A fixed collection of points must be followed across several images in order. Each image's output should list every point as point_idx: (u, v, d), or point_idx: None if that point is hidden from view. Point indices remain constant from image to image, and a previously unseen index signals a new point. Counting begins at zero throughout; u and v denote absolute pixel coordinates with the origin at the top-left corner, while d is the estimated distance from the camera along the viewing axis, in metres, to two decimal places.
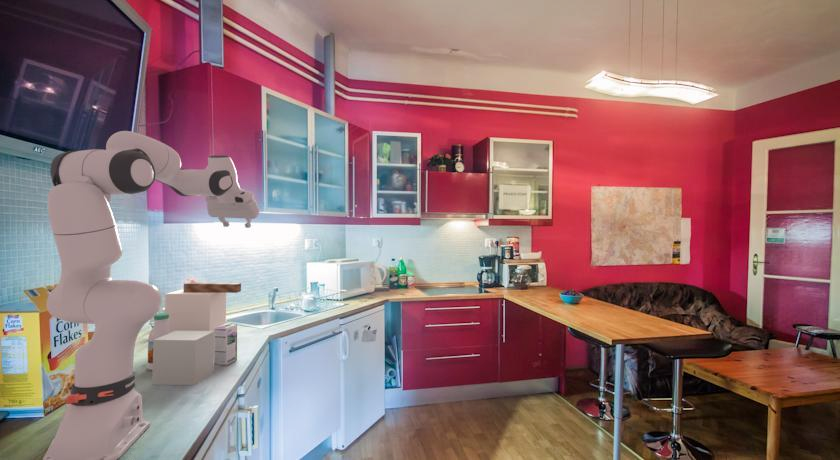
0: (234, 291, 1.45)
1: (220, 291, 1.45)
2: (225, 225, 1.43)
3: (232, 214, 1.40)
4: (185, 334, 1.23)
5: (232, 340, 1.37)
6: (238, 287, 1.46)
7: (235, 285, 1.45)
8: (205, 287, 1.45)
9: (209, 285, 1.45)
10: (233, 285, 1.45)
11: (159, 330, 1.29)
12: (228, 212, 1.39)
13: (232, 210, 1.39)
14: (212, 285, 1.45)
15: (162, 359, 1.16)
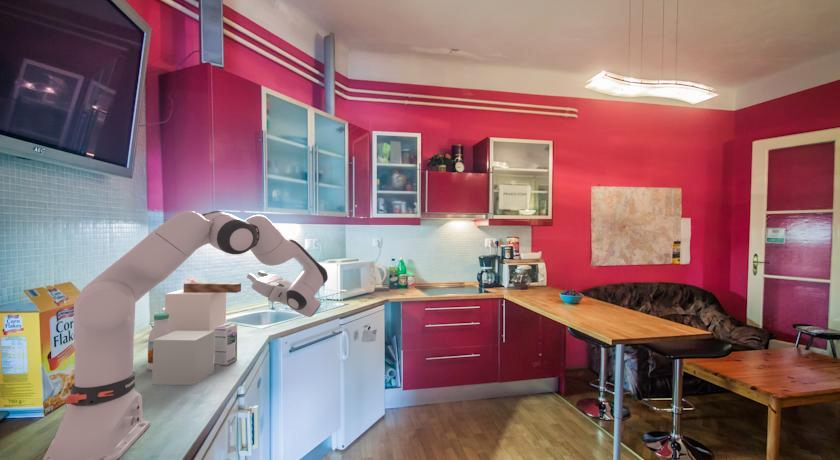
0: (234, 291, 1.45)
1: (220, 291, 1.45)
2: (261, 271, 1.47)
3: (268, 277, 1.42)
4: (185, 334, 1.23)
5: (232, 340, 1.37)
6: (238, 287, 1.46)
7: (235, 285, 1.45)
8: (205, 287, 1.45)
9: (209, 285, 1.45)
10: (233, 285, 1.45)
11: (159, 330, 1.29)
12: (271, 278, 1.43)
13: (271, 280, 1.41)
14: (212, 285, 1.45)
15: (162, 359, 1.16)
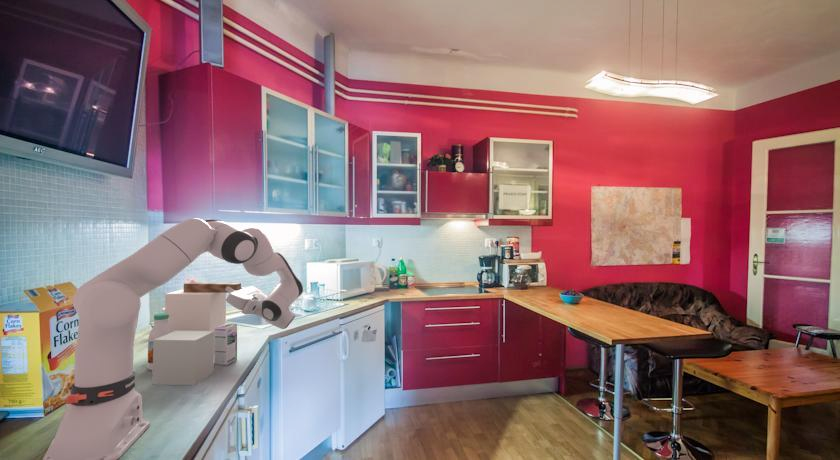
0: None
1: (220, 291, 1.45)
2: None
3: (244, 290, 1.46)
4: (185, 334, 1.23)
5: (232, 340, 1.37)
6: (238, 287, 1.46)
7: (235, 285, 1.45)
8: (205, 287, 1.45)
9: (209, 285, 1.45)
10: (233, 285, 1.45)
11: (159, 330, 1.29)
12: (247, 291, 1.48)
13: (247, 293, 1.46)
14: (212, 285, 1.45)
15: (162, 359, 1.16)
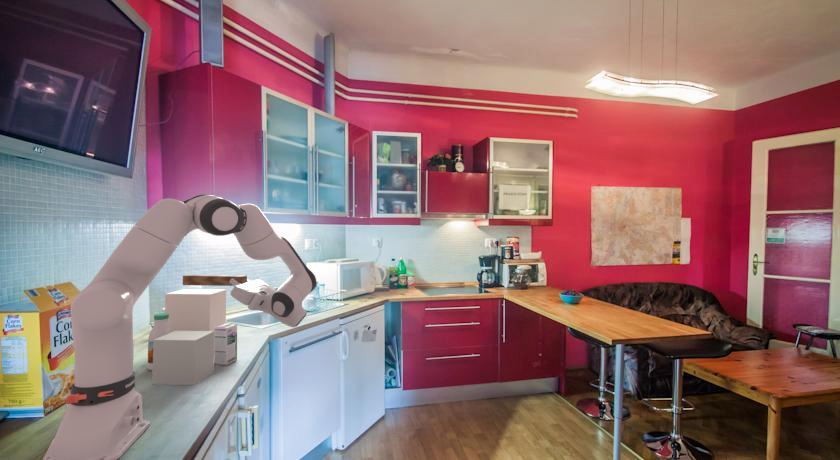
0: None
1: (223, 285, 1.30)
2: None
3: (250, 284, 1.31)
4: (185, 334, 1.23)
5: (232, 340, 1.37)
6: (243, 280, 1.31)
7: (240, 277, 1.30)
8: (207, 280, 1.29)
9: (211, 277, 1.30)
10: (238, 277, 1.30)
11: (159, 330, 1.29)
12: (254, 284, 1.32)
13: (253, 286, 1.30)
14: (215, 277, 1.30)
15: (162, 359, 1.16)
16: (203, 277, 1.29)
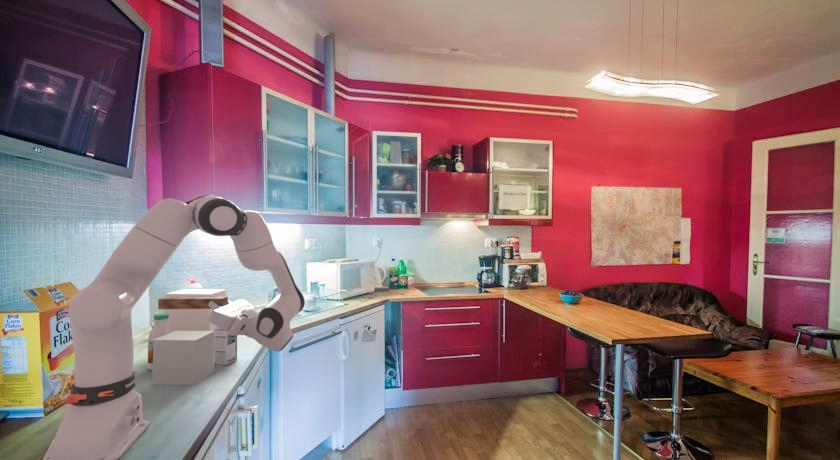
0: None
1: (202, 308, 1.21)
2: None
3: (231, 306, 1.22)
4: (185, 334, 1.23)
5: (232, 340, 1.37)
6: (224, 302, 1.22)
7: (220, 299, 1.21)
8: (185, 303, 1.21)
9: (189, 300, 1.21)
10: (218, 300, 1.21)
11: (159, 330, 1.29)
12: (235, 306, 1.23)
13: (235, 309, 1.21)
14: (192, 300, 1.21)
15: (162, 359, 1.16)
16: (180, 300, 1.21)
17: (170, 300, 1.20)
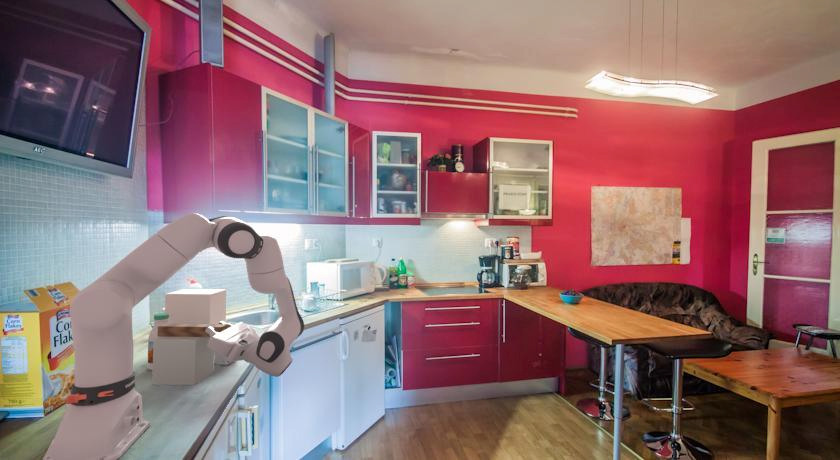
0: None
1: (201, 336, 1.20)
2: (222, 322, 1.26)
3: (230, 330, 1.22)
4: None
5: None
6: (223, 330, 1.22)
7: (220, 328, 1.21)
8: (184, 331, 1.20)
9: (188, 328, 1.20)
10: (217, 328, 1.21)
11: None
12: (234, 331, 1.23)
13: (234, 333, 1.21)
14: (192, 328, 1.20)
15: (162, 359, 1.16)
16: (180, 328, 1.20)
17: (169, 327, 1.20)
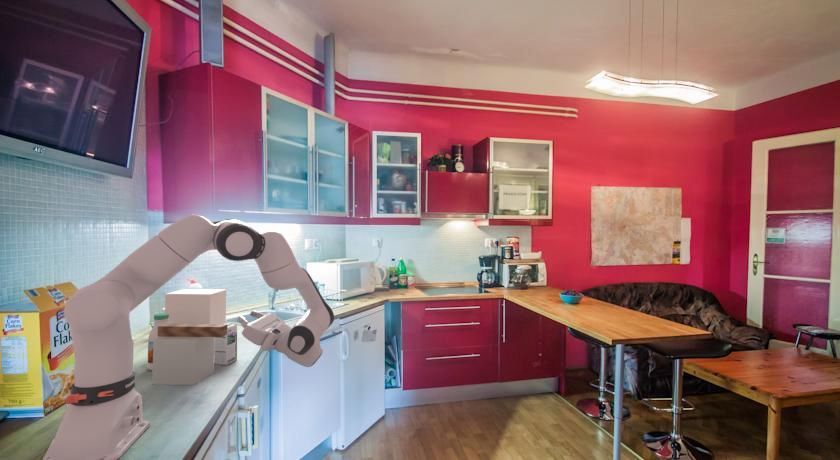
0: (218, 335, 1.21)
1: (201, 336, 1.20)
2: (254, 311, 1.27)
3: (262, 320, 1.22)
4: None
5: (232, 340, 1.37)
6: (223, 330, 1.22)
7: (220, 328, 1.21)
8: (184, 331, 1.20)
9: (188, 328, 1.20)
10: (217, 328, 1.21)
11: None
12: (266, 320, 1.23)
13: (266, 323, 1.21)
14: (192, 328, 1.20)
15: (162, 359, 1.16)
16: (180, 328, 1.20)
17: (169, 327, 1.20)
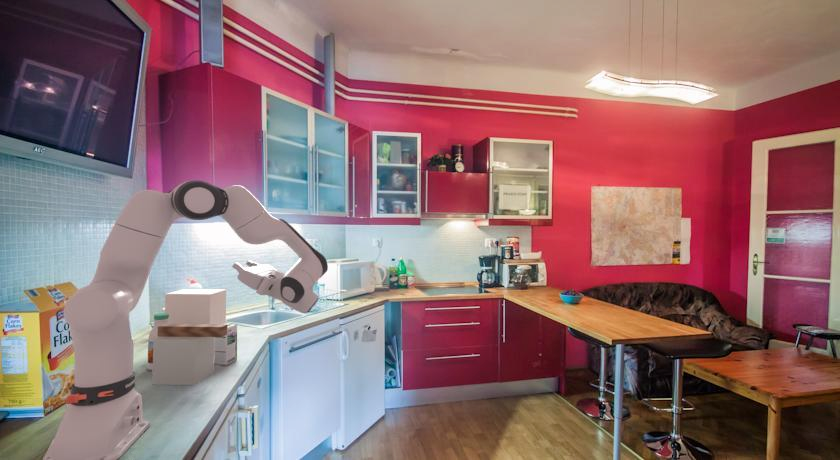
0: (218, 335, 1.21)
1: (201, 336, 1.20)
2: (250, 261, 1.28)
3: (258, 268, 1.23)
4: None
5: (232, 340, 1.37)
6: (223, 330, 1.22)
7: (220, 328, 1.21)
8: (184, 331, 1.20)
9: (188, 328, 1.20)
10: (217, 328, 1.21)
11: None
12: (262, 269, 1.24)
13: (261, 270, 1.22)
14: (192, 328, 1.20)
15: (162, 359, 1.16)
16: (180, 328, 1.20)
17: (169, 327, 1.20)
